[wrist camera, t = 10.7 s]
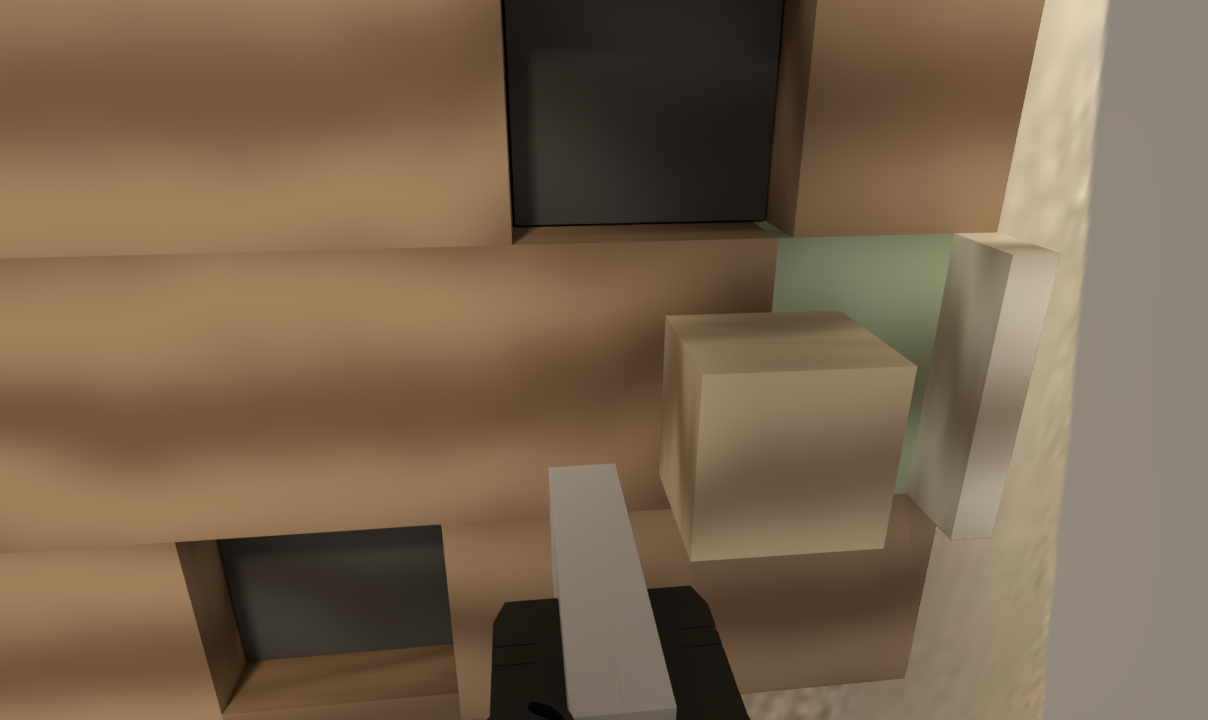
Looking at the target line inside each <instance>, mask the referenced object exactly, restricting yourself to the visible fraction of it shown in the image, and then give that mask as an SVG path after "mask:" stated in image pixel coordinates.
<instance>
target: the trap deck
mask: <svg viewBox="0 0 1208 720" xmlns="http://www.w3.org/2000/svg"><path fill="white" fill-rule="evenodd" d="M1044 2H1045V0H505V20H506V41H507V61H508V82H509V103H510V124H511V145H512V166H513V187H514V208H515V225H536V226H513V224H512V204H511V184H510V163H509V143H508V123H507V103H506V82H505V62H504V42H503V21H502V1H501V0H0V720H475V719H485V718H489V716H490V695H491V671H492V638H493V623H494V621H495V619H496V617H497V615H498V614H499V612H500V610H501V608H502V607H503V605H504V603H505V602H513V601H525V600H538V599H550V598H554V586H553V573H552V553H551V524H550V495H549V467H564V466H580V465H597V464H613V463H615V465H616V469H617V473H618V477H619V481H620V485H621V489H622V493H623V497H624V501H625V504H626V508H627V512H628V516H629V520H630V524H631V528H632V532H633V536H634V540H635V544H636V548H637V552H638V556H639V560H640V564H641V568H642V572H643V576H644V580H645V584H646V588H647V589H651V588H664V587H676V586H688V585H691V586H692V588H693V589H694V590H695V591H696V592H697V593H698V594H699V595H700V596H701V597H702V598H703V599H704V600H705V601H706V602H707V603H708V605H709V608H710V611H711V614H712V617H713V619H714V622H715V625H716V630H717V631H718V633H719V636H720V639H721V642H722V647H723V648H724V650H725V653H726V656H727V659H728V661H729V664H730V667H731V670H732V673H733V675H734V678H735V681H736V684H737V687H738V689H739V692H740V694H746V693H756V692H766V691H777V690H787V689H798V688H808V687H818V686H829V685H839V684H850V683H860V682H870V681H881V680H891V679H902V678H905V673H906V669H907V664H908V659H909V654H910V649H911V644H912V640H913V635H914V630H915V625H916V620H917V616H918V611H919V606H920V601H921V596H922V591H923V587H924V582H925V577H926V572H927V567H928V562H929V558H930V553H931V548H932V543H933V538H934V533H935V529H936V525H937V527H938V528H939V529H940V530H941V531H942V532H943V533H944V534H945V535H946V536H947V537H948V538H949V539H950V540H951V541H953V540H967V539H980V538H992V534H993V530H994V526H995V521H996V517H997V513H998V509H999V505H1000V501H1001V497H1002V493H1003V489H1004V484H1005V480H1006V476H1007V472H1008V468H1009V464H1010V460H1011V456H1012V452H1013V448H1014V443H1015V439H1016V435H1017V431H1018V427H1019V423H1020V419H1021V415H1022V411H1023V407H1024V402H1025V398H1026V394H1027V390H1028V386H1029V382H1030V378H1031V374H1032V370H1033V365H1034V361H1035V357H1036V353H1037V349H1038V345H1039V341H1040V337H1041V333H1042V329H1043V324H1044V320H1045V316H1046V312H1047V308H1048V304H1049V300H1050V296H1051V292H1052V287H1053V283H1054V279H1055V275H1056V271H1057V267H1058V263H1059V259H1060V255H1061V253H1058V252H1055V251H1052V250H1049V249H1046V248H1043V247H1040V246H1037V245H1034V244H1031V243H1028V242H1025V241H1022V240H1019V239H1015V238H1012V237H1009V236H1006V235H1003V234H1000V233H997V229H998V224H999V220H1000V215H1001V210H1002V205H1003V200H1004V195H1005V191H1006V186H1007V181H1008V176H1009V171H1010V166H1011V162H1012V157H1013V152H1014V147H1015V142H1016V137H1017V133H1018V128H1019V123H1020V118H1021V113H1022V108H1023V104H1024V99H1025V94H1026V89H1027V84H1028V80H1029V75H1030V70H1031V65H1032V60H1033V55H1034V51H1035V46H1036V41H1037V36H1038V31H1039V26H1040V22H1041V17H1042V12H1043V7H1044ZM724 220H750V221H724ZM681 221H707V222H681ZM638 222H665V223H638ZM595 223H622V224H595ZM552 224H579V225H552ZM835 310H840V311H842V312H843V313H845V314H846V315H847V316H849V317H850V318H851V319H853V320H854V321H856V322H857V323H858V324H860V325H861V326H862V327H864V328H865V329H867V330H868V331H869V332H871V333H872V334H873V335H875V336H876V337H878V338H879V339H880V340H882V341H883V342H885V343H886V344H887V345H889V346H890V347H891V348H893V349H894V350H896V351H897V352H898V353H900V354H901V355H902V356H904V357H905V358H907V359H908V360H909V361H911V362H912V363H913V364H915V365H916V366H917V371H916V377H915V382H914V388H913V393H912V398H911V404H910V409H909V414H908V420H907V425H906V431H905V436H904V441H903V447H902V452H901V457H900V463H899V468H898V474H897V479H896V484H895V490H894V495H893V500H892V506H891V511H890V517H889V522H888V527H887V533H886V538H885V543H884V549H870V550H855V551H840V552H826V553H811V554H796V555H782V556H767V557H752V558H738V559H723V560H708V561H694V562H690V559H689V556H688V553H687V551H686V548H685V545H684V542H683V540H682V537H681V534H680V531H679V528H678V526H677V523H676V520H675V517H674V514H673V512H672V509H671V506H670V503H669V500H668V498H667V495H666V492H665V489H664V487H663V484H662V481H661V478H660V475H659V461H660V437H661V414H662V390H663V366H664V342H665V318H666V315H700V314H734V313H768V312H801V311H835Z"/></svg>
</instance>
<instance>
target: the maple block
mask: <svg viewBox="0 0 1208 720" xmlns="http://www.w3.org/2000/svg"><path fill="white" fill-rule="evenodd" d="M916 371H917V366H916V365H915V364H913V363H912V362H911V361H909V360H908V359H907V358H905V357H904V356H902V355H901V354H900V353H898V352H897V351H896V350H894V349H893V348H891V347H890V346H889V345H887V344H886V343H885V342H883V341H882V340H880V339H879V338H878V337H876V336H875V335H873V334H872V333H871V332H869V331H868V330H867V329H865V328H864V327H862V326H861V325H860V324H858V323H857V322H856V321H854V320H853V319H851V318H850V317H849V316H847V315H846V314H845V313H843V312H842V311H840V310H835V311H801V312H768V313H734V314H700V315H666V318H665V342H664V366H663V390H662V414H661V437H660V461H659V475H660V478H661V481H662V484H663V487H664V489H665V492H666V495H667V498H668V500H669V503H670V506H671V509H672V512H673V514H674V517H675V520H676V523H677V526H678V528H679V531H680V534H681V537H682V540H683V542H684V545H685V548H686V551H687V553H688V556H689V559H690V562H694V561H708V560H723V559H738V558H752V557H767V556H782V555H796V554H811V553H826V552H840V551H855V550H870V549H884V543H885V538H886V533H887V527H888V522H889V517H890V511H891V506H892V500H893V495H894V490H895V484H896V479H897V474H898V468H899V463H900V457H901V452H902V447H903V441H904V436H905V431H906V425H907V420H908V414H909V409H910V404H911V398H912V393H913V388H914V382H915V377H916Z"/></svg>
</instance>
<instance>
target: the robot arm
mask: <svg viewBox="0 0 1208 720" xmlns="http://www.w3.org/2000/svg"><path fill="white" fill-rule="evenodd" d="M549 495H550V524H551V553H552V573H553V586H554V598H550V599H538V600H525V601H513V602H505V603H504V605H503V607H502V608H501V610H500V612H499V614H498V615H497V617H496V619H495V621H494V623H493V638H492V671H491V695H490V716H489V718H488V719H487V720H750V718H749V716H748V714H747V712H746V709H745V706H744V703H743V701H742V698H741V695H740V692H739V689H738V687H737V684H736V681H735V678H734V675H733V673H732V670H731V667H730V664H729V661H728V659H727V656H726V653H725V650H724V648H723V647H722V642H721V639H720V636H719V633H718V631H717V630H716V625H715V622H714V619H713V617H712V614H711V611H710V608H709V605H708V603H707V602H706V601H705V600H704V599H703V598H702V597H701V596H700V595H699V594H698V593H697V592H696V591H695V590H694V589H693V588H692V586H691V585H688V586H676V587H664V588H651V589H647V588H646V584H645V580H644V576H643V572H642V568H641V564H640V560H639V556H638V552H637V548H636V544H635V540H634V536H633V532H632V528H631V524H630V520H629V516H628V512H627V508H626V504H625V501H624V497H623V493H622V489H621V485H620V481H619V477H618V473H617V469H616V465H615V463H613V464H597V465H580V466H564V467H549Z"/></svg>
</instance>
